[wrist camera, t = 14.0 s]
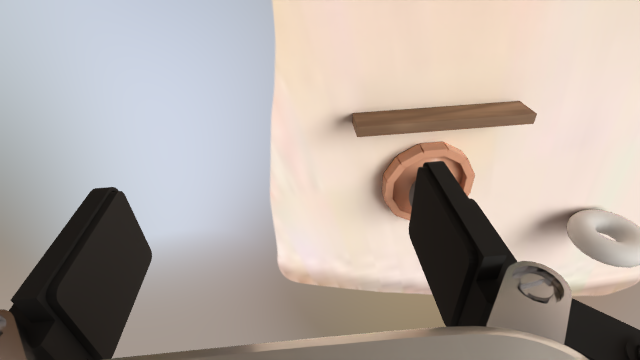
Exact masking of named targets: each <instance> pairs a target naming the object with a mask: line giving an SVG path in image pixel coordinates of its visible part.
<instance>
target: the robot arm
mask: <svg viewBox="0 0 640 360" xmlns="http://www.w3.org/2000/svg"><path fill="white" fill-rule="evenodd" d="M409 235H410V239H411V241H412V244H413V246H414V249H415V251H416V254H417V256H418V259H419V261H420V264H421V266H422V269H423V271H424V274H425V276H426V279H427V281H428V284H429V286H430V289H431V291H432V294H433V296H434V299H435V301H436V304H437V306H438V309H439V311H440V314H441V316H442V319H443V321H444V323H445V325H446V327H438V328H425V329H412V330H398V331H387V332H376V333H365V334H354V335H344V336H334V337H323V338H312V339H301V340H291V341H281V342H271V343H260V344H251V345H241V346H231V347H220V348H210V349H201V350H190V351H181V352H171V353H162V354H152V355H142V356H133V357H123V358H114V359H111V358H112V356H113V354H114V352H115V349H116V347H117V344H118V342H119V339H120V337H121V334H122V332H123V329H124V327H125V324H126V322H127V319H128V317H129V314H130V312H131V310H132V307H133V305H134V302H135V300H136V297H137V294H138V292H139V289H140V287H141V285H142V282H143V280H144V277H145V275H146V272H147V270H148V267H149V265H150V262H151V259H152V253H151V249H150V247H149V245H148V243H147V241H146V239H145V236H144V234H143V232H142V230H141V228H140V226H139V224H138V222H137V220H136V218H135V216H134V213H133V211H132V209H131V207H130V205H129V203H128V201H127V199H126V196H125V194H124V193H123V192H122V191H118V189H116V188H114V187H109V188H95V189H93V190H92V191H91V192H90V193H89V194H88V196H87V197H86V199H85V200H84V201H83V203H82V204H81V205H80V207H79V208H78V209H77V211H76V212H75V213H74V215H73V216H72V218H71V219H70V220H69V222H68V223H67V224H66V226H65V227H64V228H63V230H62V231H61V233H60V234H59V235H58V237H57V238H56V239H55V241H54V242H53V243H52V245H51V246H50V247H49V249H48V250H47V251H46V253H45V254H44V256H43V257H42V258H41V260H40V261H39V262H38V264H37V265H36V266H35V268H34V269H33V270H32V272H31V273H30V275H29V276H28V277H27V279H26V280H25V281H24V283H23V284H22V285H21V287H20V288H19V290H18V291H17V292H16V294H15V295H14V296H13V298H12V299H11V301H12V302H13V303H14V304H13V306H12V308H11V309H10V310H9V311H7V310H0V360H640V330H638V329H636V328H634V327H632V326H630V325H628V324H626V323H624V322H621V321H619V320H617V319H615V318H613V317H611V316H609V315H606V314H604V313H602V312H600V311H598V310H596V309H594V308H592V307H589V306H587V305H585V304H583V303H581V302H579V301H577V300H575V299H572V293H571V289H570V287H569V285H568V283H567V282H566V281H565V280H564V278H563V277H562V276H561V275H559V274H558V273H557V272H555V271H554V270H553V269H551V268H549V267H547V266H545V265H543V264H539V263H536V262H530V261H521V262H517V260H516V259H515V258H514V256H513V255H512V253H511V252H510V250H509V249H508V247H507V246H506V245H505V243H504V242H503V240H502V239H501V237H500V236H499V234H498V233H497V232H496V230H495V229H494V227H493V226H492V224H491V223H490V221H489V220H488V219H487V217H486V216H485V214H484V213H483V211H482V210H481V208H480V207H479V206H478V204H477V203H476V202H475V201H474V200H473V199H469V198H468V196H467V195H466V193H465V192H464V190H463V189H462V188H461V186H460V185H459V183H458V182H457V180H456V179H455V177H454V176H453V174H452V173H451V171H450V170H449V168H448V167H447V165H446V164H445V163H444V161H434V162H425V163H424V164H423V167H419V168H418V170H417V176H416V183H415V190H414V196H413V203H412V210H411V216H410V223H409Z"/></svg>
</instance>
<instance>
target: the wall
mask: <svg viewBox="0 0 640 360" xmlns="http://www.w3.org/2000/svg"><path fill="white" fill-rule="evenodd" d="M536 115H537V114H536V113H535V112H534V111H532V110H531V109H530V108H528V107H527V106H526V105H524V104H523V103H522V102H520V101H514V102H500V103H487V104H473V105H460V106H446V107H432V108H419V109H405V110H392V111H378V112H364V113H353V115H352V123H353V126H354V129H355V132H356V135H357V137H365V136H378V135H391V134H404V133H417V132H430V131H443V130H456V129H469V128H483V127H496V126H509V125H522V124H533V123H534V121H535V118H536Z"/></svg>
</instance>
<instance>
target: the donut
mask: <svg viewBox="0 0 640 360" xmlns="http://www.w3.org/2000/svg"><path fill="white" fill-rule="evenodd" d="M566 227H567V232H568V236H569V238H570V239H571V241H572V242H573V244H574V245H575V246H576V247H577V248H578V249H579V250H581V251H582V252H583V253H585V254H586V255H588V256H589V257H591V258H592V259H595V260H597V261H599V262H602V263H604V264H608V265H612V266H616V267H629V268H630V267H634V266H639V265H640V227H639V226H638V225H636V224H635V223H634V222H632V221H630V220H628V219H626V218H624V217H623V216H620V215H617V214H615V213H612V212H608V211H603V210H593V209H590V210H583V211H579V212H577V213H576V214H574V215H573V216H571V217H570V218H569V221H568V223H567V226H566ZM598 232H599V233H598ZM600 233H603V234H606V235H608V236H610V237H612V238H614V239H615V240H616V241H613V240H610V239H608V238H606V237H604V236H602V235H601V234H600Z"/></svg>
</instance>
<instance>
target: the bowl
mask: <svg viewBox="0 0 640 360" xmlns="http://www.w3.org/2000/svg"><path fill="white" fill-rule="evenodd" d="M397 156H398V157H395V159H394V160H393V161H392V163H391V164H390V165H389V167H388V168H387V169H386V171H385V172H384V175H383V183H382V194H383V197H384V200H385V202H386V203H387V205H388V206H389V208H390V209H391V211H392V212H393V213H394V214H395V215H396V216H399V217H402V218H404V219H407V220H410V216H411V210H412V207H411V205H410V202H409V191H410V188H411V186H412V184H413V183H414V182H415V180H416V176H417V170H418V168H419V167H423V164H424V163H425V162H434V161H444V163H445V164H446V165H447V167H448V168H449V170H450V171H451V173H452V174H453V176H454V177H455V179H456V180H457V182H458V183H459V185H460V186H461V188H462V189H463V190H464V192H465V193H466V195H467V196H468V195H469V193H470V192H471V188H472V184H473V181H474V177H475V175H474V171H473V169H472V167H471V165H470V162H469V160H468V158H467V157H466V156H465V154H464V153H463V152H462V151H461V150H459V149H457V148H455V147H453V146H451V145H449V144H447V143H445V142H434V143H421V144H420V145H418V144H417V145H415V146H414V147H412V148H410V149H408V150H406V151H404V152H403V153H401V154H399V155H397Z"/></svg>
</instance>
